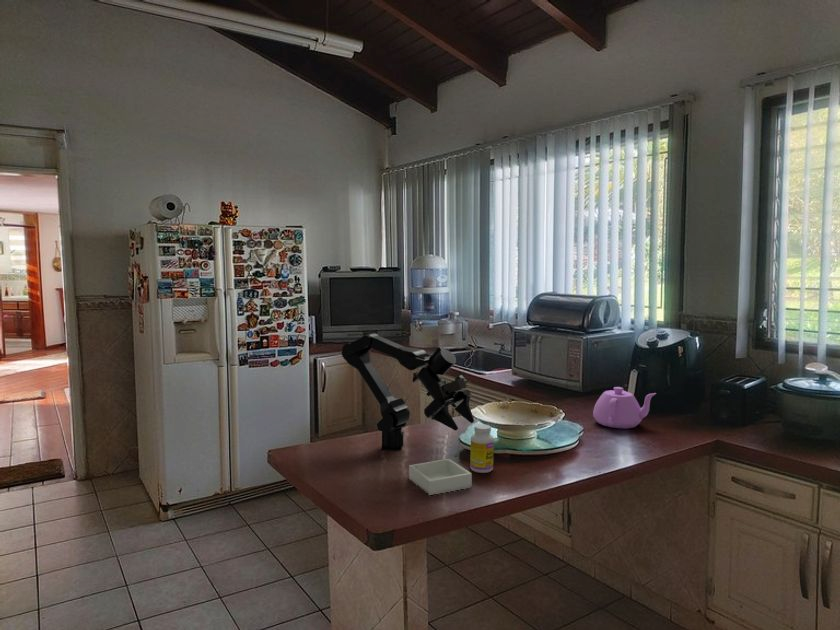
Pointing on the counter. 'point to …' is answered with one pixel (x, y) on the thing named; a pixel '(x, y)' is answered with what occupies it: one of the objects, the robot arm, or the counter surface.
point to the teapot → (620, 409)
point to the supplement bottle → (482, 449)
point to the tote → (440, 476)
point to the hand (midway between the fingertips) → (465, 425)
